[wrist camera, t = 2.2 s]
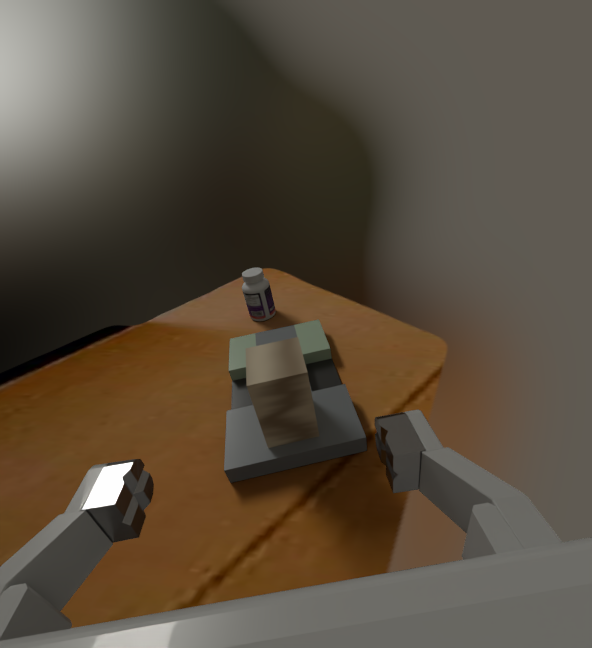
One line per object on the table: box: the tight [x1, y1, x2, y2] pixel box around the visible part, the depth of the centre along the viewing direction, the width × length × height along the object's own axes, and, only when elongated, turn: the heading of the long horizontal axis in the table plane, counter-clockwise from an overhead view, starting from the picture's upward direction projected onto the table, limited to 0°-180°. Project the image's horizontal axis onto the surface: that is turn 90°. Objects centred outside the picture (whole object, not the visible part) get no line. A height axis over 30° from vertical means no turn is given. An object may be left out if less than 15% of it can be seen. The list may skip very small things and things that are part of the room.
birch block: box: [246, 337, 319, 448], centre depth 35 cm, size 6×6×10 cm
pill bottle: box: [242, 268, 276, 321], centre depth 62 cm, size 5×5×10 cm
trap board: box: [224, 320, 367, 483], centre depth 45 cm, size 16×25×2 cm, turn 9°
